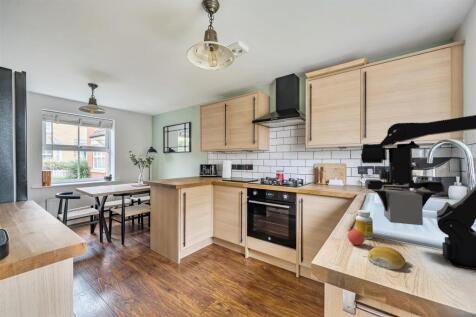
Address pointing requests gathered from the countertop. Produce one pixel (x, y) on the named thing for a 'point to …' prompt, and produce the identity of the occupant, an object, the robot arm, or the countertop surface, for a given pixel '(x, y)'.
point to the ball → (356, 237)
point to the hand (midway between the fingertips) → (401, 212)
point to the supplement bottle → (364, 223)
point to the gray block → (404, 207)
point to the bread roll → (386, 258)
